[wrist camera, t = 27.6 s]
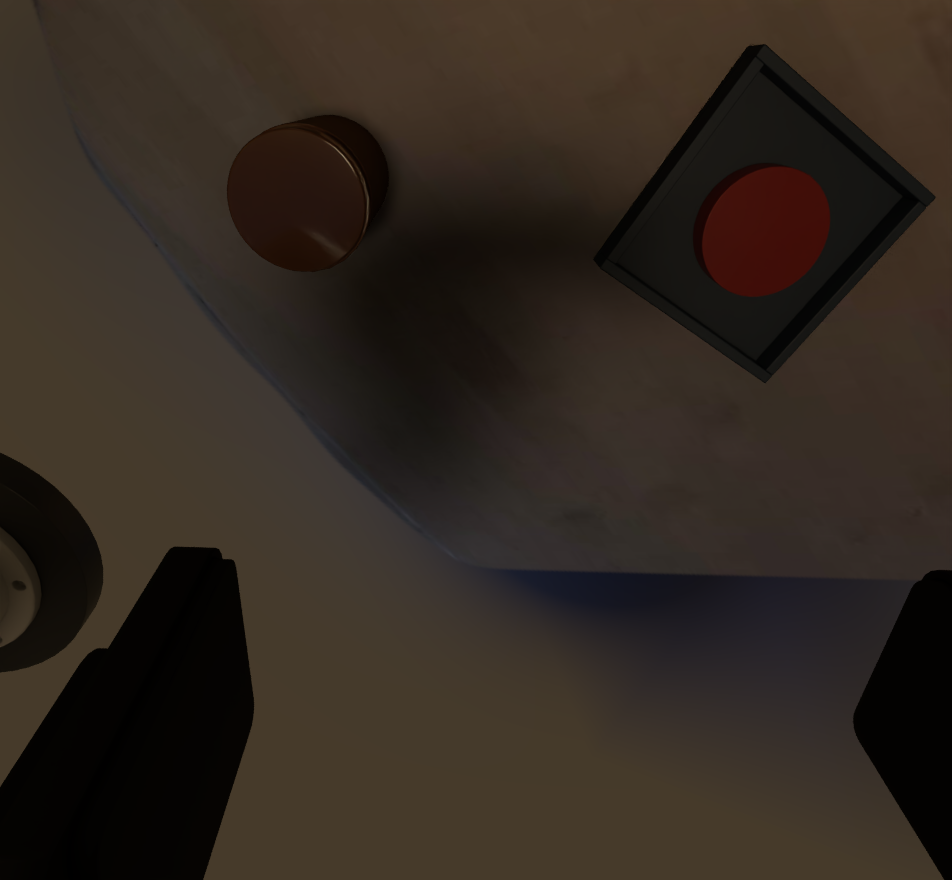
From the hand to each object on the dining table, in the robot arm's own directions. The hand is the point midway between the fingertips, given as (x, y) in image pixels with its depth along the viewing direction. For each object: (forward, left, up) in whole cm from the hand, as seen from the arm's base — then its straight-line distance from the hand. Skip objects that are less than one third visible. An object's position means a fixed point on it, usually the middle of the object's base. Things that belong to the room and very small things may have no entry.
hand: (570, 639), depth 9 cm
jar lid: (+8, -12, -28) cm, 32 cm away
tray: (+8, -12, -30) cm, 34 cm away
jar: (-2, +8, -30) cm, 31 cm away
